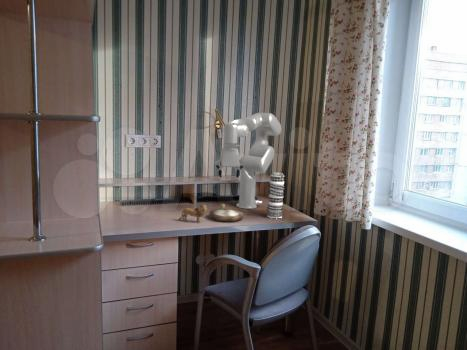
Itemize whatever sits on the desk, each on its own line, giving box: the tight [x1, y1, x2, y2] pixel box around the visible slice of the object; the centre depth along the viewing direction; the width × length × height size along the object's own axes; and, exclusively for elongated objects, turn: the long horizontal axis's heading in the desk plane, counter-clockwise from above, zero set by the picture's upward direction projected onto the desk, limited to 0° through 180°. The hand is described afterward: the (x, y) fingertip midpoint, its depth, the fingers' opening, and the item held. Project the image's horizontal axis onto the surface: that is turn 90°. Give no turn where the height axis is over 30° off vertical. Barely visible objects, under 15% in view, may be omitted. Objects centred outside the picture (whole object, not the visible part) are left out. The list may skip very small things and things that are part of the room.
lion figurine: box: [177, 204, 208, 224], centre depth 189 cm, size 15×5×9 cm, turn 90°
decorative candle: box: [266, 171, 286, 220], centre depth 205 cm, size 9×9×25 cm
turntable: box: [209, 203, 244, 222], centre depth 199 cm, size 18×18×5 cm
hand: (229, 177), depth 205 cm, fingers open, 9 cm apart
